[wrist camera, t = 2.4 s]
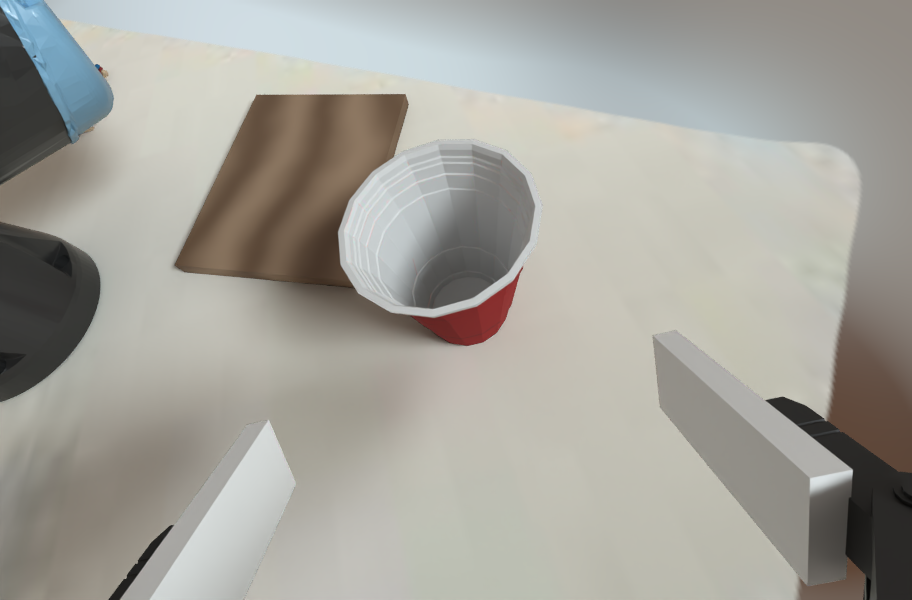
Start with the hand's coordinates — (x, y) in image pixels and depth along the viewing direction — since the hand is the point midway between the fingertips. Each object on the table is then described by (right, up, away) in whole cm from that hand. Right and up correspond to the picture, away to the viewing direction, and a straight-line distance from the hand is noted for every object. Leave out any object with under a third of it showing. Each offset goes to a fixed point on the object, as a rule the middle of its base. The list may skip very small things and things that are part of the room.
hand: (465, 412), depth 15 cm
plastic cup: (0, +3, +18) cm, 19 cm away
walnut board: (-14, +15, +26) cm, 33 cm away
